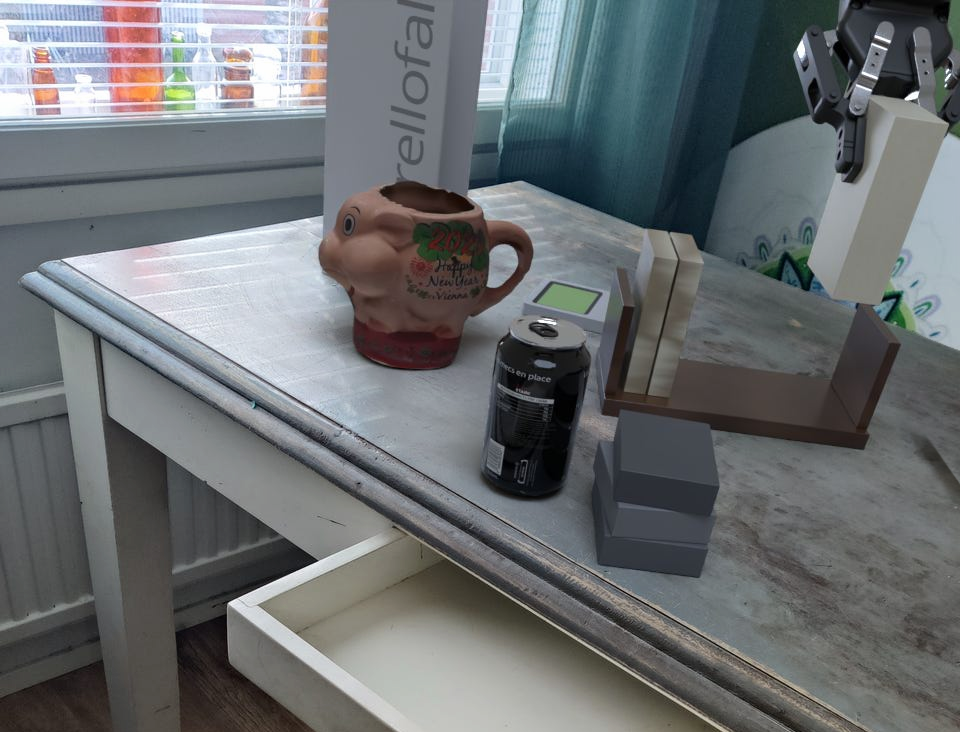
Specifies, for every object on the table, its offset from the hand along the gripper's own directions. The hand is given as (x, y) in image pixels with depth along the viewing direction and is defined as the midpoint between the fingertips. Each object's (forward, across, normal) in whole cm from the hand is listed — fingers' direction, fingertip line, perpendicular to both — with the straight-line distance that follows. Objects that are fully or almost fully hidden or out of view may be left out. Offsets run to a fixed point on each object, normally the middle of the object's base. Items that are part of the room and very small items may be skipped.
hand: (881, 179), depth 69 cm
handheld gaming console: (-6, -14, +39) cm, 41 cm away
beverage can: (+22, -22, +11) cm, 33 cm away
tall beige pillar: (+5, 0, +6) cm, 8 cm away
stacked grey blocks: (+26, -13, +7) cm, 30 cm away
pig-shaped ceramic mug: (+6, -32, +27) cm, 42 cm away
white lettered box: (-6, -37, +39) cm, 54 cm away
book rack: (+8, -3, +25) cm, 26 cm away
